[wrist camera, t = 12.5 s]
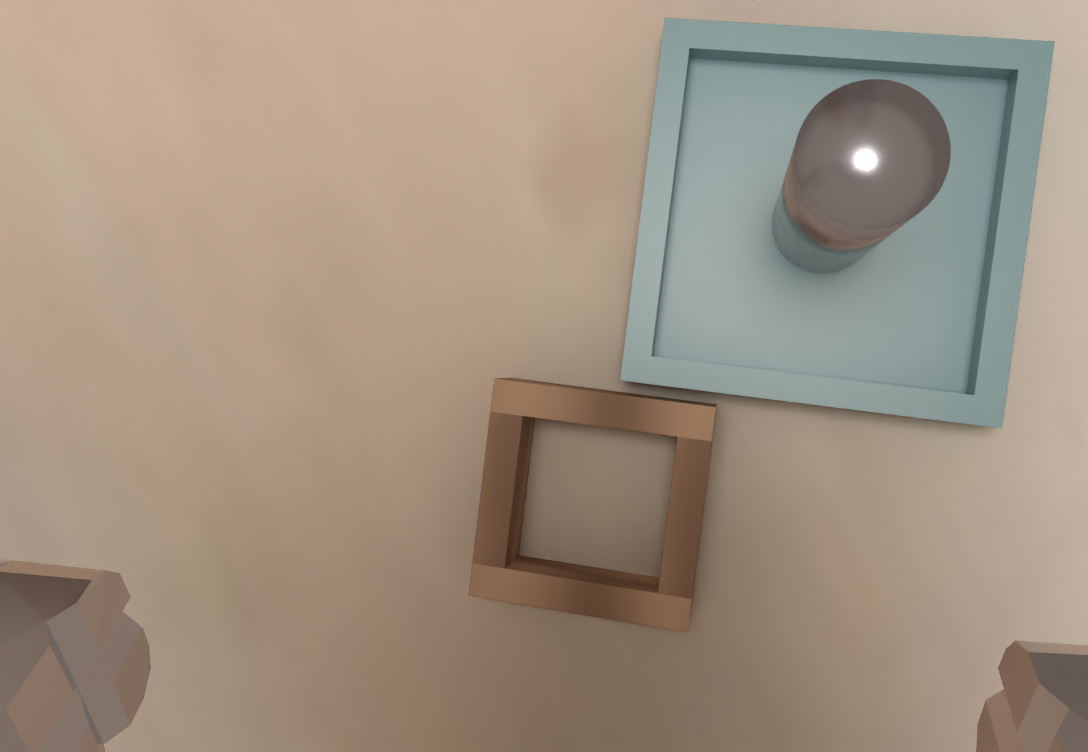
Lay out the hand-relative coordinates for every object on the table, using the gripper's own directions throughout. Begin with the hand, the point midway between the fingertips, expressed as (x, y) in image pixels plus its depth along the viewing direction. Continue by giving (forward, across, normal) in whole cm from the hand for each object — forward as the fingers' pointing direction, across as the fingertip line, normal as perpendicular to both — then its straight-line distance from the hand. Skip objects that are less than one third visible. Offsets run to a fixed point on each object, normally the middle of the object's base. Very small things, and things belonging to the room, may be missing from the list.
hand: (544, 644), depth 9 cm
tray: (+28, -7, +10) cm, 30 cm away
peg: (+27, -7, +9) cm, 29 cm away
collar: (+22, +1, +18) cm, 29 cm away
